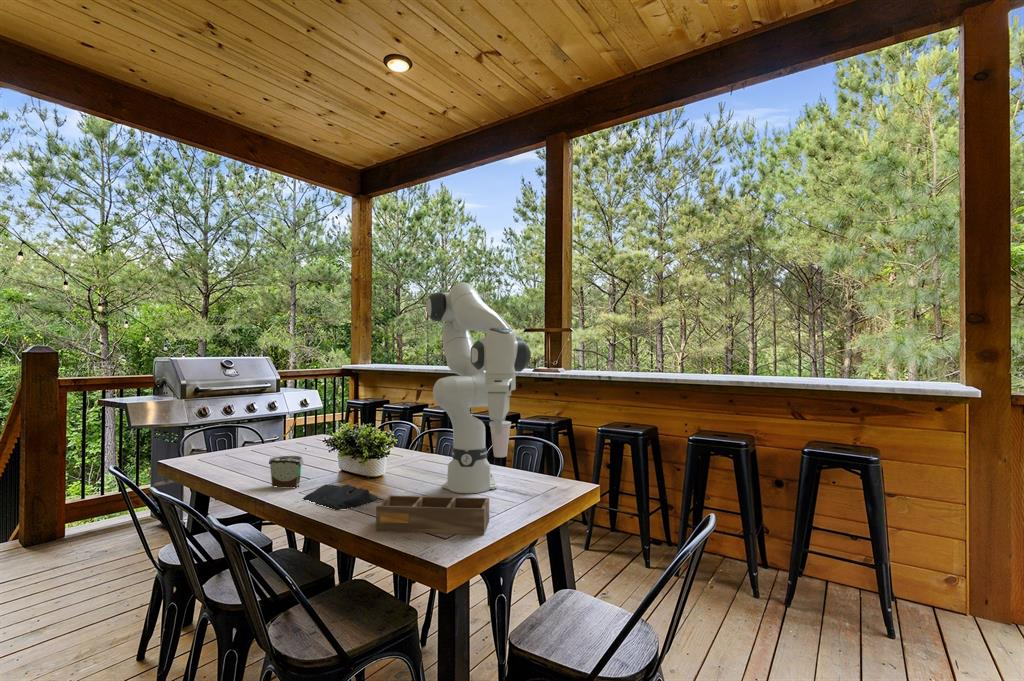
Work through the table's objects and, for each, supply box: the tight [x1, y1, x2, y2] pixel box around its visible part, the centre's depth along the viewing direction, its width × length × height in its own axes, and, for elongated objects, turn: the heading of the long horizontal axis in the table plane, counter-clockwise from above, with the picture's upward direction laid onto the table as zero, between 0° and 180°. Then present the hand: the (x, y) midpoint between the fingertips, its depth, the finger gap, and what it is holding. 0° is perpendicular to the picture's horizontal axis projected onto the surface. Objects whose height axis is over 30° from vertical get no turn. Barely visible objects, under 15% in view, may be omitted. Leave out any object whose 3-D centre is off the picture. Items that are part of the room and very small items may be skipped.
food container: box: [268, 455, 304, 489], centre depth 176 cm, size 12×6×10 cm, turn 80°
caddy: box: [375, 495, 490, 536], centre depth 135 cm, size 10×29×6 cm, turn 85°
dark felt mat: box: [302, 484, 379, 511], centre depth 159 cm, size 15×22×5 cm
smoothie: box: [488, 420, 512, 458], centre depth 143 cm, size 6×6×14 cm
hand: (500, 431), depth 143 cm, fingers closed on smoothie, 6 cm apart
